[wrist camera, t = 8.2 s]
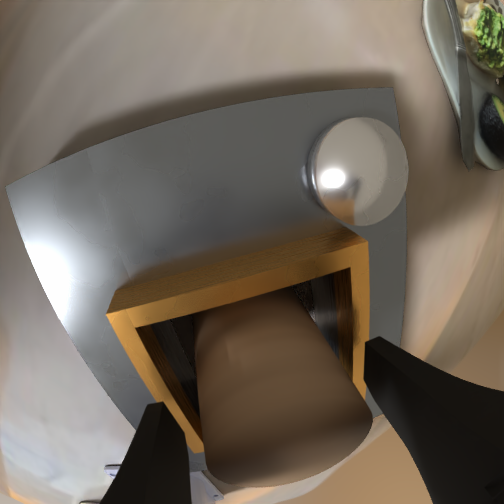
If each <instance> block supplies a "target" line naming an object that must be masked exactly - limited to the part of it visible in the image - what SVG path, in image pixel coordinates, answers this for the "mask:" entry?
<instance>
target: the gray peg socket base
mask: <svg viewBox="0 0 504 504" xmlns="http://www.w3.org/2000/svg"><path fill="white" fill-rule="evenodd" d="M408 174H409V166H408V158H407V154H406V151H405V148H404V145H403V143H402V141H401V136H400V128H399V121H398V114H397V108H396V102H395V96H394V91H393V87H388V88H359V89H343V90H331V91H320V92H311V93H302V94H294V95H287V96H280V97H273V98H267V99H261V100H255V101H250V102H245V103H239V104H234V105H229V106H225V107H220V108H216V109H211V110H207V111H203V112H199V113H195V114H191V115H187V116H183V117H179V118H176V119H172V120H169V121H165V122H162V123H158V124H155V125H152V126H148V127H145V128H142V129H139V130H136V131H133V132H130V133H127V134H124V135H121V136H118V137H115V138H113V139H110V140H107V141H104V142H102V143H99V144H96V145H94V146H91V147H89V148H86V149H84V150H81V151H79V152H76V153H74V154H72V155H69V156H67V157H65V158H62V159H60V160H58V161H56V162H53V163H51V164H49V165H47V166H45V167H43V168H41V169H38V170H36V171H34V172H32V173H30V174H28V175H26V176H24V177H22V178H20V179H18V180H17V181H15V182H13V183H11V184H9V185H7V186H5V189H6V192H7V195H8V199H9V202H10V205H11V208H12V211H13V214H14V217H15V220H16V223H17V226H18V229H19V231H20V234H21V237H22V239H23V242H24V244H25V247H26V249H27V252H28V254H29V257H30V259H31V261H32V264H33V266H34V268H35V270H36V273H37V275H38V277H39V279H40V281H41V284H42V286H43V288H44V290H45V292H46V294H47V296H48V298H49V300H50V302H51V304H52V306H53V308H54V310H55V311H56V313H57V315H58V317H59V319H60V321H61V322H62V324H63V326H64V328H65V330H66V331H67V333H68V335H69V336H70V338H71V340H72V342H73V343H74V345H75V346H76V348H77V350H78V351H79V353H80V355H81V356H82V358H83V359H84V361H85V362H86V364H87V365H88V367H89V368H90V370H91V371H92V373H93V374H94V376H95V377H96V379H97V380H98V382H99V383H100V384H101V386H102V387H103V389H104V390H105V391H106V393H107V394H108V396H109V397H110V398H111V400H112V401H113V402H114V404H115V405H116V406H117V407H118V409H119V410H120V411H121V413H122V414H123V415H124V416H125V418H126V419H127V420H128V421H129V422H130V424H131V425H132V426H133V427H134V429H135V430H137V428H138V425H139V423H140V420H141V418H142V415H143V413H144V410H145V408H146V406H147V404H151V403H157V402H162V401H164V403H165V404H166V406H167V408H168V409H169V411H170V412H171V414H172V415H173V416H174V418H175V419H176V421H177V422H178V424H179V425H180V427H181V428H182V429H183V431H184V432H185V437H186V443H187V448H188V455H189V467H190V473H191V472H198V471H204V470H208V469H207V466H206V461H205V453H204V445H203V437H202V428H201V419H200V409H199V399H198V388H197V378H196V376H195V374H194V372H193V369H192V367H191V365H190V363H189V361H188V359H187V357H186V355H185V352H184V350H183V348H182V346H181V344H180V341H179V339H178V337H177V335H176V332H175V330H174V328H173V326H172V323H171V321H170V319H172V318H176V317H180V316H184V315H188V314H192V313H195V312H199V311H203V310H207V309H210V308H214V307H218V306H221V305H225V304H229V303H232V302H236V301H239V300H243V299H247V298H250V297H254V296H257V295H260V294H264V293H267V292H271V291H274V290H278V289H281V288H284V287H288V286H291V285H294V284H298V283H301V282H304V281H307V280H311V287H312V294H313V302H314V311H315V319H316V325H317V327H318V328H319V330H320V331H321V333H322V335H323V336H324V338H325V339H326V341H327V342H328V344H329V345H330V347H331V349H332V350H333V352H334V353H335V355H336V356H337V358H338V359H339V361H340V362H341V364H342V366H343V367H344V369H345V370H346V372H347V373H348V375H349V377H350V378H351V380H352V381H353V383H354V384H355V386H356V388H357V389H358V391H359V392H360V394H361V395H362V397H363V399H364V400H365V402H366V403H367V405H368V406H369V408H370V410H371V412H372V415H373V418H375V417H377V416H379V415H381V414H383V412H382V411H381V410H380V408H379V407H378V405H377V404H376V402H375V401H374V399H373V397H372V395H371V393H370V392H369V390H368V388H367V386H366V384H365V382H364V380H363V374H364V352H365V342H366V341H368V340H371V339H373V338H376V337H378V336H381V337H382V338H384V339H386V340H387V341H389V342H391V343H393V344H394V345H396V346H398V347H399V348H400V341H401V332H402V323H403V312H404V300H405V284H406V259H407V217H406V192H405V190H406V186H407V182H408Z"/></svg>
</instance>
